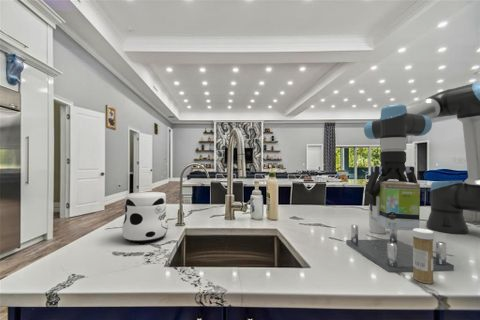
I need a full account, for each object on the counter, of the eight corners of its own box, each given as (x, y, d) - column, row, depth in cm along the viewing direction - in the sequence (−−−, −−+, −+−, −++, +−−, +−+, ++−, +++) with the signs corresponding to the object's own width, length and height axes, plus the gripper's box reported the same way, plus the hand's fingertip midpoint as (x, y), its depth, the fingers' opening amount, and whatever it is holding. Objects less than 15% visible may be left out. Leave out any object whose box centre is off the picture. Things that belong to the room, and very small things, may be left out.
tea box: (421, 231, 74) (421, 183, 74) (385, 229, 76) (385, 182, 76) (398, 220, 89) (398, 179, 89) (369, 218, 91) (369, 179, 91)
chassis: (395, 242, 95) (395, 223, 95) (453, 270, 71) (453, 244, 71) (346, 243, 94) (346, 224, 94) (388, 272, 70) (388, 246, 70)
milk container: (176, 238, 99) (176, 194, 100) (133, 249, 87) (134, 198, 87) (155, 229, 111) (155, 190, 111) (115, 238, 99) (115, 194, 99)
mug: (374, 234, 107) (374, 206, 107) (365, 229, 113) (365, 204, 113) (396, 233, 107) (396, 206, 107) (386, 229, 114) (386, 204, 114)
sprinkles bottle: (438, 283, 63) (438, 231, 64) (424, 285, 62) (424, 232, 63) (421, 275, 68) (421, 227, 68) (408, 276, 67) (408, 228, 67)
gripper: (416, 152, 87) (416, 213, 87) (353, 150, 86) (353, 213, 85) (434, 151, 80) (434, 217, 80) (366, 149, 78) (365, 218, 78)
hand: (392, 215), depth 82 cm, fingers closed on tea box, 11 cm apart
